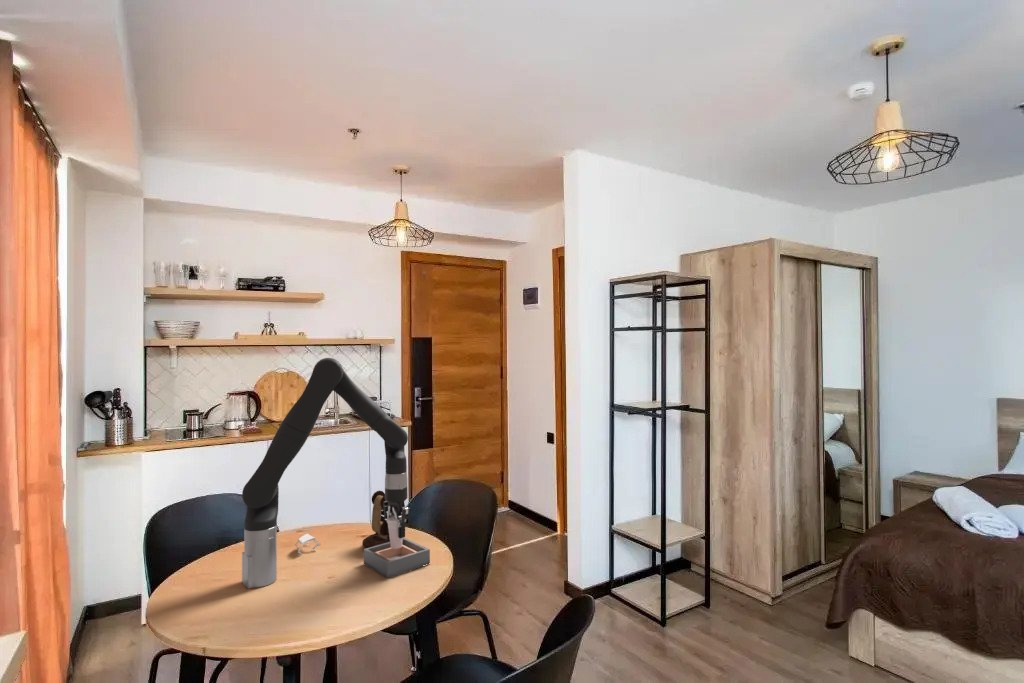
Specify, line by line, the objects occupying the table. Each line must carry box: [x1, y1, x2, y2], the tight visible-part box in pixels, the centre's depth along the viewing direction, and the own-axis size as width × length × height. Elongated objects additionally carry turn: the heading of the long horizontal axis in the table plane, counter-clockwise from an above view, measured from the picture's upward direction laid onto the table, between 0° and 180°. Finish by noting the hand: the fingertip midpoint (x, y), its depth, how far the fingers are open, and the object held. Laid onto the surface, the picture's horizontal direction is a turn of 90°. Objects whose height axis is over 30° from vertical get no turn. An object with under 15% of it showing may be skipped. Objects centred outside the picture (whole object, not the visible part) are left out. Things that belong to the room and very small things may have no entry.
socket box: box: [363, 537, 431, 579], centre depth 179 cm, size 16×16×5 cm
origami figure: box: [294, 533, 321, 557], centre depth 192 cm, size 12×8×5 cm
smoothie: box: [386, 515, 406, 549], centre depth 179 cm, size 6×6×14 cm
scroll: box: [361, 490, 390, 549], centre depth 195 cm, size 15×15×20 cm
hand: (396, 535), depth 179 cm, fingers closed on smoothie, 6 cm apart
